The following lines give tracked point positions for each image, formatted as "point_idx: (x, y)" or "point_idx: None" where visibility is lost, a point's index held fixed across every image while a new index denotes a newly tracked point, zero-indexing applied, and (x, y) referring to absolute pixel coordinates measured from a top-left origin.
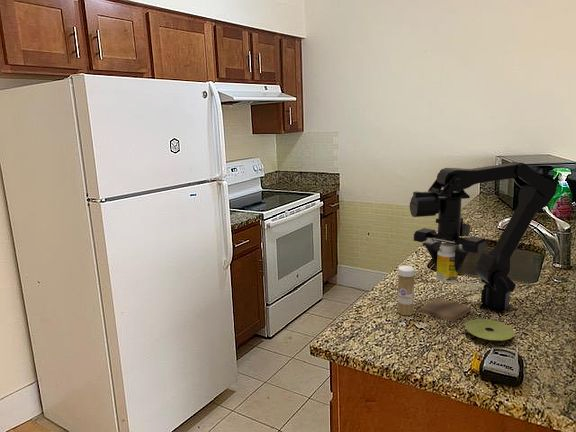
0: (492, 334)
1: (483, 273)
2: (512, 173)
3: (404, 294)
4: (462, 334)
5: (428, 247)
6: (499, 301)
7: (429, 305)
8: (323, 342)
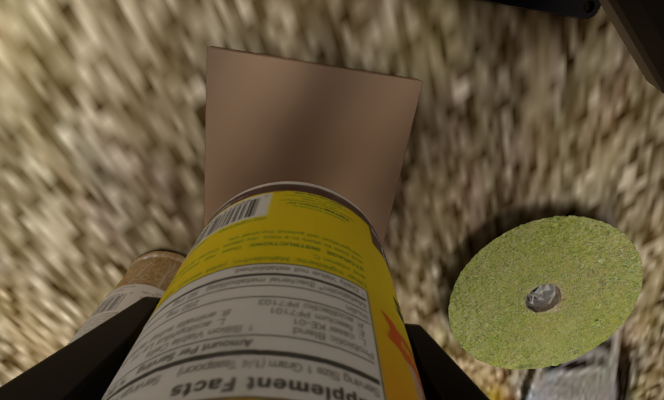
0: (556, 330)
1: (651, 27)
2: None
3: None
4: (436, 319)
5: None
6: None
7: (226, 191)
8: None
